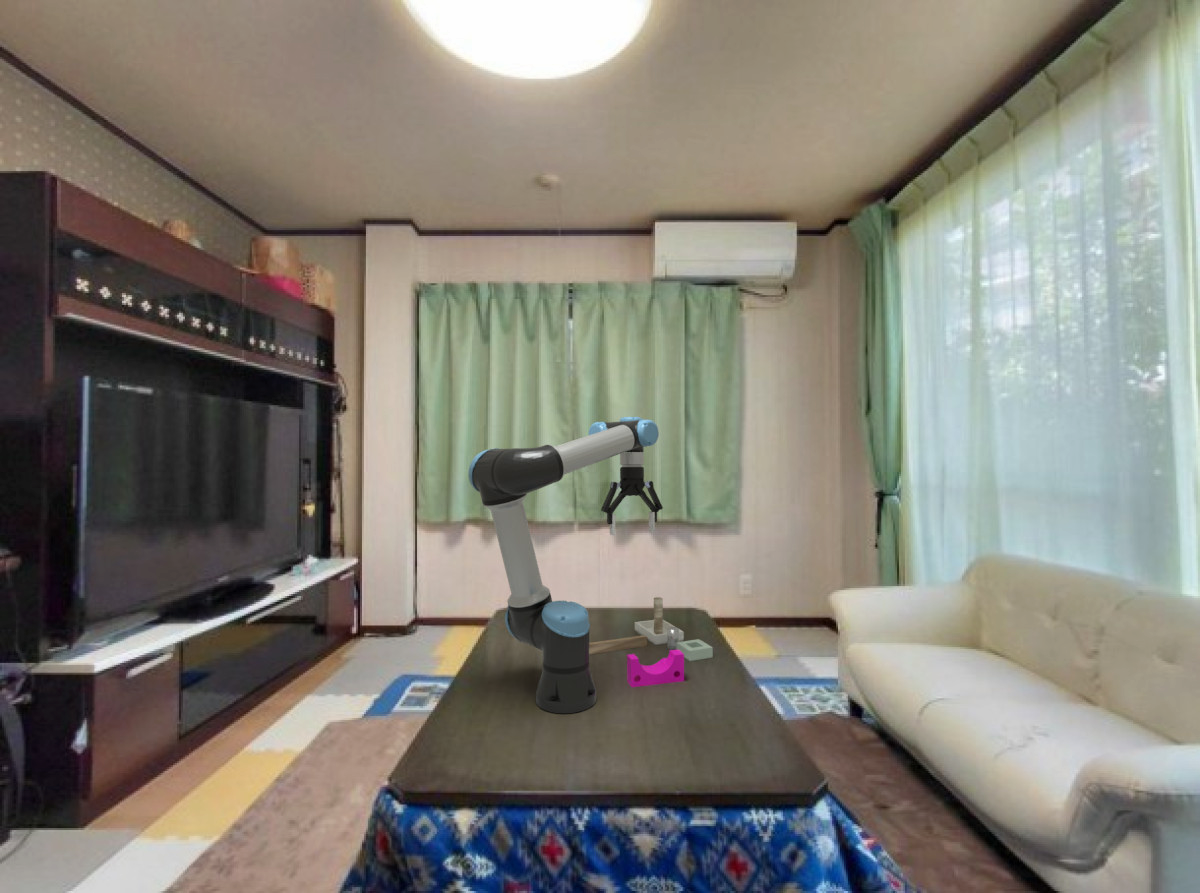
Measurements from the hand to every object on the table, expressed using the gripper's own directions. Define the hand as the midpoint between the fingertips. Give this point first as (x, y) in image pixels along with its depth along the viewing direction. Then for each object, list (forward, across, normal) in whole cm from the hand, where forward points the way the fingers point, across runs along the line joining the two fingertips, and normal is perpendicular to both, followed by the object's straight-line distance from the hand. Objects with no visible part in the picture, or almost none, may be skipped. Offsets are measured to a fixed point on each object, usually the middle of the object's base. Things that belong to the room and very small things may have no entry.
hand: (632, 533), depth 172 cm
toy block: (+37, +4, +22) cm, 43 cm away
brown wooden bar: (+37, +5, -3) cm, 37 cm away
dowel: (+36, -14, -10) cm, 40 cm away
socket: (+37, -16, +10) cm, 41 cm away
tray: (+37, -14, -10) cm, 41 cm away
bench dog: (+37, -13, +2) cm, 39 cm away
